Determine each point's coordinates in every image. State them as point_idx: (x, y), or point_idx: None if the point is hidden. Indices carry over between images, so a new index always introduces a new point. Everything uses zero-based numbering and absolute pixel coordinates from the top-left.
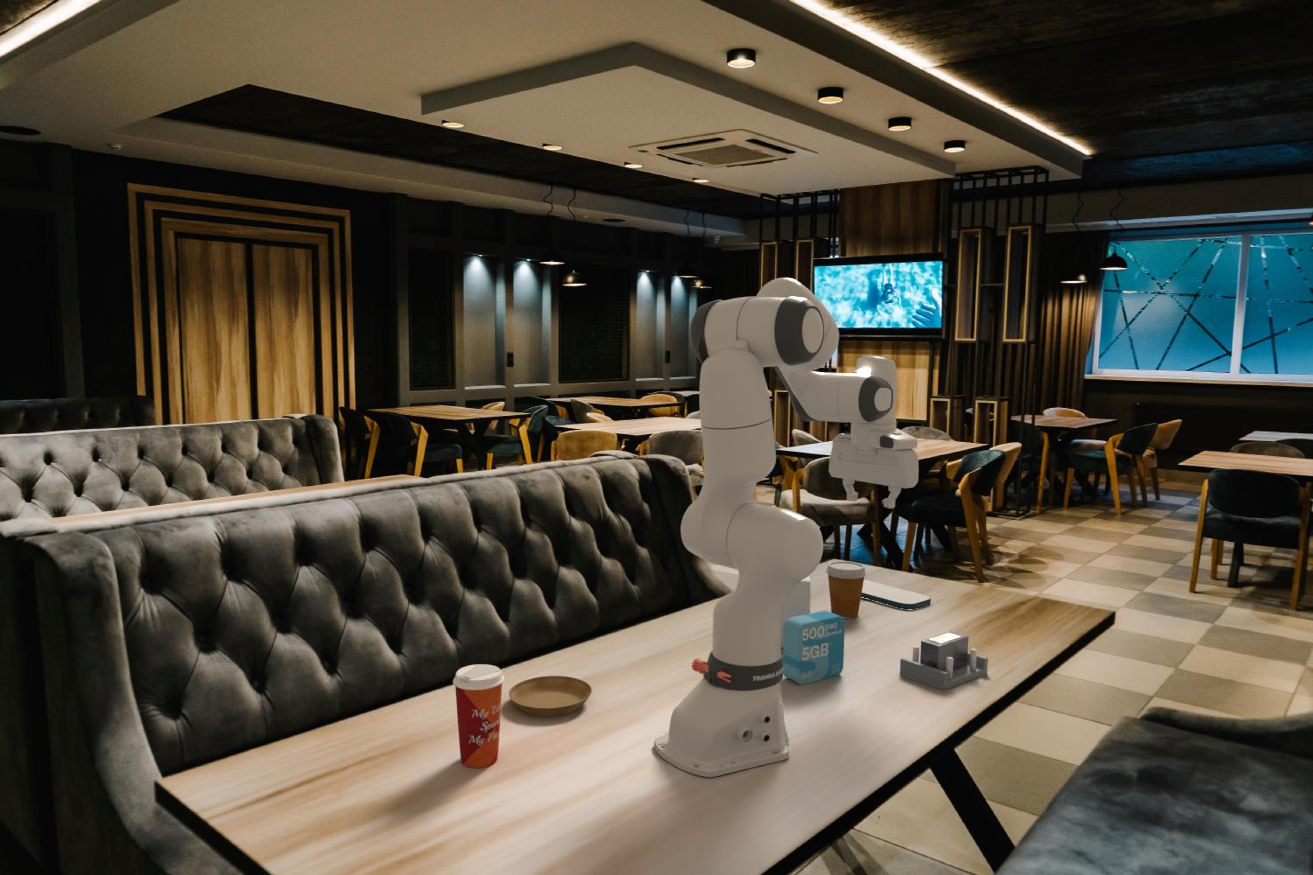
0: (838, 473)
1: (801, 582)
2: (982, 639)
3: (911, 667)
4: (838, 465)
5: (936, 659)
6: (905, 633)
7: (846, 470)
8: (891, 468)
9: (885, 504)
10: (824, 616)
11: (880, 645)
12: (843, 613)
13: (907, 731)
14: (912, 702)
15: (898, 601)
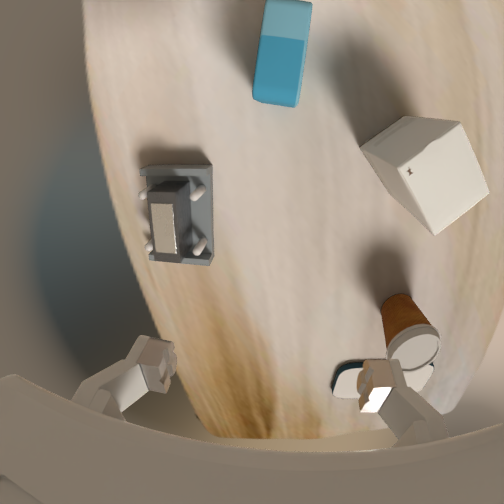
0: (480, 449)
1: (409, 156)
2: (229, 339)
3: (190, 167)
4: (492, 489)
5: (158, 186)
6: (302, 302)
7: (435, 487)
8: (22, 477)
9: (157, 346)
10: (272, 60)
11: (299, 240)
12: (393, 298)
13: (110, 43)
14: (147, 102)
15: (356, 370)
